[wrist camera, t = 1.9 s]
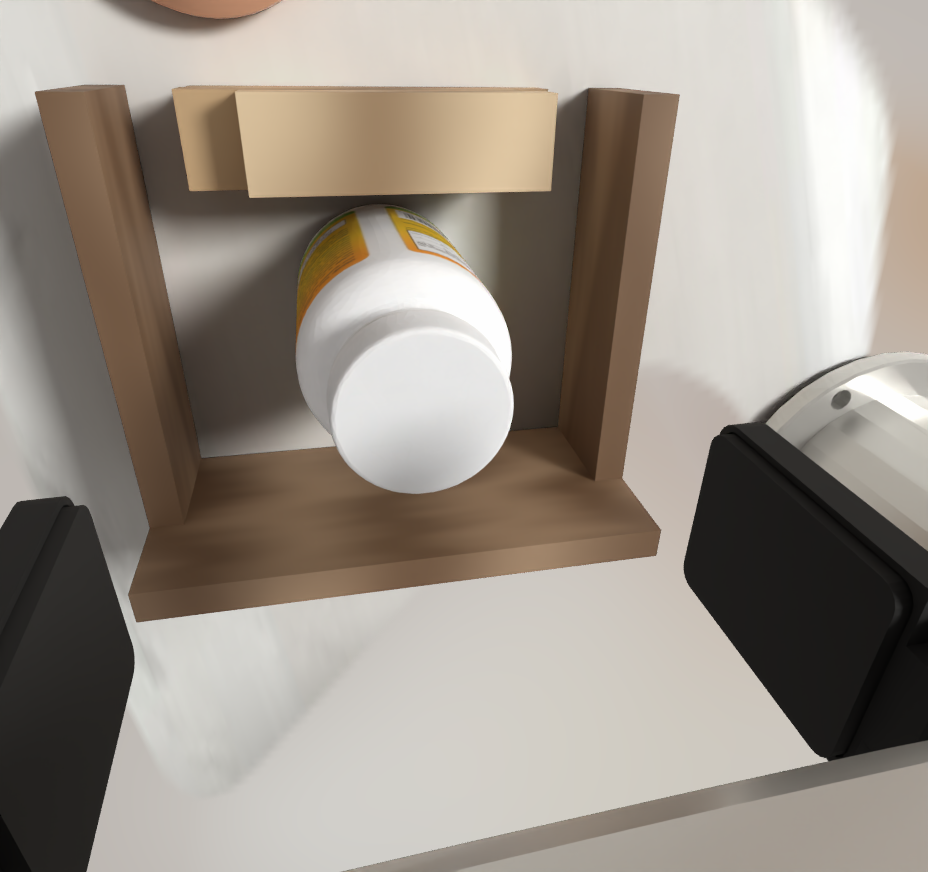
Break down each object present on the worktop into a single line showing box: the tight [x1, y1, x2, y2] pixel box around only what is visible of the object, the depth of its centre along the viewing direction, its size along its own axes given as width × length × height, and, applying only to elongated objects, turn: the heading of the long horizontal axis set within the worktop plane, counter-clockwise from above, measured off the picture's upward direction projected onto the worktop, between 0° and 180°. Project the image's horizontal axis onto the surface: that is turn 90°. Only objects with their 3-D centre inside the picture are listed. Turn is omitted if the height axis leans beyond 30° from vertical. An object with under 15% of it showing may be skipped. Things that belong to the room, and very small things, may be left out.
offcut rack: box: [35, 85, 680, 622], centre depth 20 cm, size 15×13×7 cm
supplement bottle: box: [295, 204, 514, 494], centre depth 18 cm, size 5×5×10 cm
